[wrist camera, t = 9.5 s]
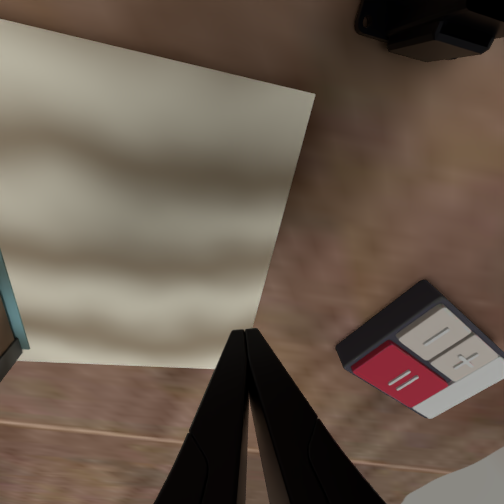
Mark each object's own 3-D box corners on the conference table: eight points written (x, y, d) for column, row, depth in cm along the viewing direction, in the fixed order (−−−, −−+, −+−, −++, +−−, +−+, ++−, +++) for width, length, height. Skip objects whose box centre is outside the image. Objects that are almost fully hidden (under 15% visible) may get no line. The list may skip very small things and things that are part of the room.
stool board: (-192, -24, 12) (-287, -51, 10) (302, 93, 16) (316, 93, 14) (-33, 332, 23) (-61, 358, 20) (239, 347, 27) (241, 371, 24)
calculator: (449, 301, 22) (527, 374, 27) (417, 271, 25) (491, 340, 30) (344, 375, 25) (431, 426, 30) (330, 339, 29) (409, 391, 34)
